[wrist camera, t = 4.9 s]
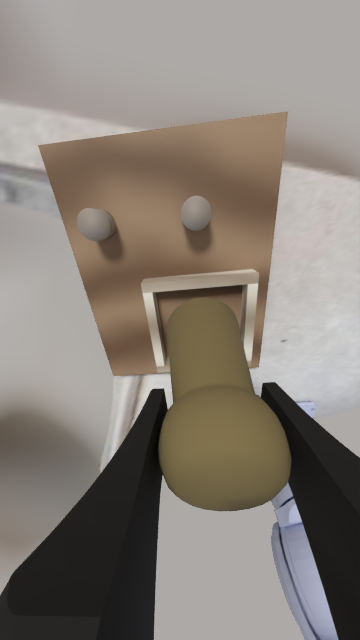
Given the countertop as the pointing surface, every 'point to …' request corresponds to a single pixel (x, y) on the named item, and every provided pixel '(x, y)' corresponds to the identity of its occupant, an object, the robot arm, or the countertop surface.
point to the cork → (217, 416)
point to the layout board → (171, 227)
